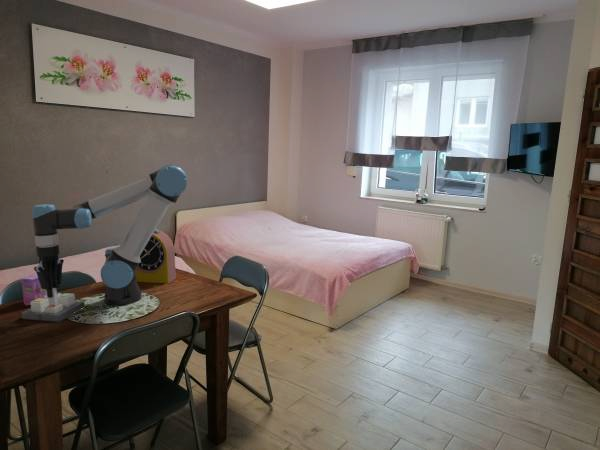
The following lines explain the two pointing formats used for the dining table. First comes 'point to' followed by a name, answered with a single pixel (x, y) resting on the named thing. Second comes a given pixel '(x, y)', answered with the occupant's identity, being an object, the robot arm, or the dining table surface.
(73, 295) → the sage key
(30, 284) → the box
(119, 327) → the dining table surface
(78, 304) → the keypad board
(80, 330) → the dining table surface
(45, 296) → the slate key
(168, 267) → the alarm clock
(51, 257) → the robot arm
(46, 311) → the terracotta key
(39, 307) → the mustard key
